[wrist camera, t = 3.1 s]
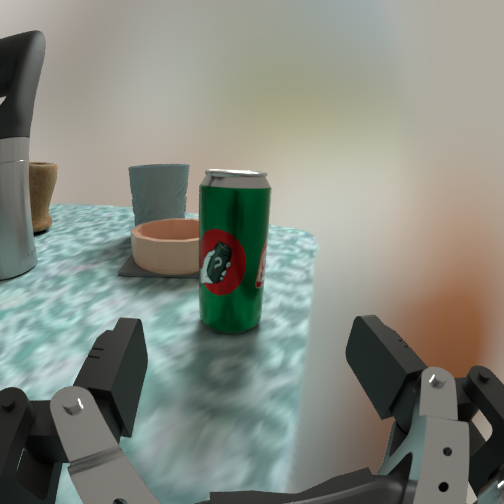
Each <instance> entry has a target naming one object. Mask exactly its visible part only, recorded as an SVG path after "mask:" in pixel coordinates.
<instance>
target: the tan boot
mask: <svg viewBox="0 0 504 504" xmlns="http://www.w3.org/2000/svg"><path fill="white" fill-rule="evenodd" d="M56 178H57V165H56V164H54V163H46V162H29V192H30V207H31V218H32V227H33V233H34V232H39V231H42V230H46V229H48V228H49V227H50V226H51V224H52V219H51V217H50V216H49V205H50V200H51V196H52V193H53V190H54V186H55V183H56Z"/></svg>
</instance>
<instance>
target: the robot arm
mask: <svg viewBox="0 0 504 504" xmlns="http://www.w3.org/2000/svg"><path fill="white" fill-rule="evenodd" d="M44 55H45V37H44V35H43V33H42V32H40V31H37V30H36V31H29V32H25V33H21V34H17V35H13V36H9V37H6V38H3V39H0V97H4V96H6V98H5V100H4V101H3V102H2V104H1V105H0V280H1V279H7V278H11V277H14V276H17V275H20V274H22V273H24V272H26V271H28V270H30V269H31V268H33V267H34V266H35V265H36V263H37V255H36V249H35V243H34V236H33V227H32V218H31V207H30V192H29V140H30V139H29V137H30V126H31V121H32V116H33V108H34V100H35V95H36V90H37V86H38V82H39V78H40V74H41V69H42V65H43V60H44ZM346 359H347V362H348V364H349V365H350V367H351V369H352V370H353V372H354V374H355V375H356V377H357V379H358V380H359V382H360V384H361V385H362V387H363V389H364V390H365V392H366V394H367V396H368V397H369V399H370V400H371V402H372V404H373V406H374V408H375V409H376V411H377V413H378V414H379V416H380V418H381V419H382V420H383V419H386V418H389V417H392V416H394V418H395V421H394V422H393V424H392V427H391V432H390V436H389V440H388V444H387V449H386V452H385V456H384V459H383V463H382V465H381V467H380V469H379V470H378V472H377V473H376V475H372V474H371V472H370V470H369V468H368V467H367V468H365V469H361V470H358V471H354V472H351V473H347V474H344V475H340V476H336V477H334V478H331V479H329V480H327V481H325V482H323V483H321V484H319V485H317V486H315V487H312V488H310V489H308V490H306V491H303V492H301V493H297V494H288V493H272V492H262V491H253V490H252V491H235V492H210V500H207V501H202V502H198V503H195V504H466V496H467V487H468V482H469V483H470V485H471V487H472V489H473V491H474V493H475V495H476V496H477V500H476V501H475V502H474V503H473V504H504V385H503V384H502V382H501V381H500V380H499V379H498V378H497V377H496V376H495V375H494V374H493V373H492V372H491V371H490V370H489V369H487V368H485V367H483V366H473V367H472V368H471V369H470V371H469V372H468V374H467V376H466V377H465V378H453V376H452V375H451V374H450V373H449V372H447V371H446V370H444V369H442V368H438V367H430V368H428V367H427V366H426V365H425V364H424V362H423V361H422V360H421V359H420V358H419V357H418V356H417V355H416V353H415V352H414V351H413V350H412V349H411V348H410V347H408V344H407V343H406V342H405V341H403V339H402V338H401V337H400V336H399V335H398V334H397V333H396V331H394V330H392V329H391V328H389V327H387V326H386V325H384V324H383V323H382V322H381V321H380V319H379V318H378V317H377V316H376V315H366V316H357V317H356V318H355V320H354V323H353V326H352V329H351V333H350V336H349V340H348V343H347V347H346ZM147 364H148V355H147V349H146V344H145V338H144V332H143V326H142V322H141V320H140V319H134V318H119V320H118V322H117V324H116V326H115V328H114V330H113V331H112V330H106V331H105V332H104V333H102V334H101V335H100V336H99V337H98V338H97V339H96V341H95V343H94V345H93V346H92V349H91V350H90V352H89V354H88V357H87V358H86V360H85V362H84V364H83V366H82V368H81V370H80V372H79V374H78V376H77V378H76V380H75V382H74V384H73V386H70V387H65V388H63V389H61V390H59V391H58V392H56V393H55V395H54V396H53V397H52V399H51V400H42V401H29V399H28V398H27V396H26V394H25V393H24V392H23V391H22V390H21V389H19V388H15V387H9V388H5V389H3V390H1V391H0V504H55V500H56V494H57V489H58V483H59V478H60V474H61V469H62V465H63V463H70V466H69V467H68V472H69V475H70V477H71V480H72V482H73V484H74V486H75V488H76V490H77V492H78V494H79V496H80V498H81V500H82V502H83V503H84V504H161V503H160V502H159V501H158V500H157V498H156V497H155V496H154V495H153V493H152V492H151V491H150V489H149V488H148V487H147V486H146V484H145V483H144V482H143V480H142V479H141V477H140V476H139V475H138V473H137V472H136V470H135V469H134V467H133V466H132V464H131V463H130V461H129V460H128V458H127V457H126V455H125V454H124V452H123V451H122V449H121V448H120V446H119V441H120V437H121V436H123V437H129V438H131V436H132V431H133V427H134V422H135V417H136V412H137V408H138V403H139V399H140V395H141V391H142V386H143V382H144V378H145V374H146V370H147ZM479 409H480V410H481V412H482V413H483V414H484V416H485V417H486V419H487V420H488V421H489V423H490V424H491V426H492V429H493V431H492V435H491V437H490V438H489V439H488V440H487V442H486V441H485V439H484V438H483V437H482V435H481V434H480V432H479V431H478V429H477V428H476V426H475V425H474V423H473V422H472V418H473V417H474V416H475V414H476V413H477V412H478V410H479ZM23 449H24V450H23ZM22 451H23V453H22ZM21 454H22V456H21ZM20 457H21V459H20ZM19 460H20V463H19ZM18 464H19V466H18ZM17 467H18V469H17ZM16 472H17V473H16Z"/></svg>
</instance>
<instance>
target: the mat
mask: <svg viewBox="0 0 504 504" xmlns="http://www.w3.org/2000/svg"><path fill="white" fill-rule="evenodd" d="M118 274H119V276H144V277H180V278H199V273H195V274H187V275H163V274H156V273H152V272H148V271H145V270H143V269H141V268H139V267H138V266H137V265H136V264H135V261H134V257H133V256H131V257H130V258H129V259H128V261H127V262H126V263H125V264H124V266H123V267H122V268H121V270H120V271H119V272H118Z"/></svg>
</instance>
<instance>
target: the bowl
mask: <svg viewBox="0 0 504 504" xmlns="http://www.w3.org/2000/svg"><path fill="white" fill-rule="evenodd" d="M131 243H132V256H133V257H134V261H135V264H136V265H137V266H138V267H139V268H141V269H143V270H145V271H148V272H152V273H156V274H163V275H187V274H195V273H199V219H180V218H172V219H163V220H154V221H150V222H146V223H143V224H140V225H137V226H136V227H135V228H134V229H133V230H131Z"/></svg>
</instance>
